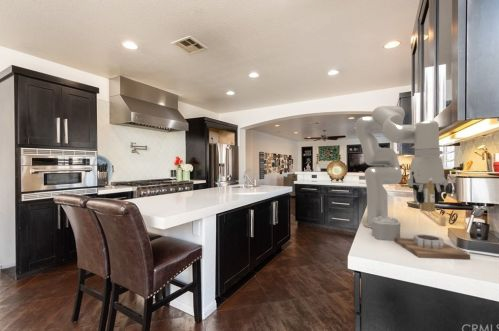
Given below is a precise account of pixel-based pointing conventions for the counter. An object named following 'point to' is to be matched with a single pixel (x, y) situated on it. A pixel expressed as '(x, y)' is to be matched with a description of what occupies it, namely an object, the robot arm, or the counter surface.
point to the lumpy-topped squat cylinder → (385, 228)
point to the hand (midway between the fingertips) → (427, 201)
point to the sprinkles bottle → (428, 197)
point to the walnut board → (431, 250)
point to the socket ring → (428, 241)
